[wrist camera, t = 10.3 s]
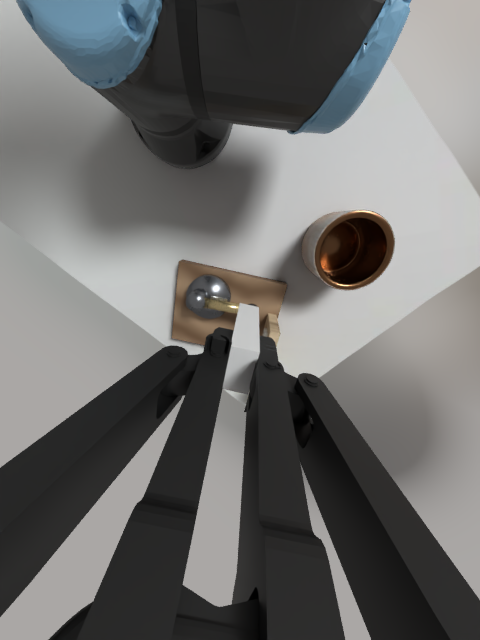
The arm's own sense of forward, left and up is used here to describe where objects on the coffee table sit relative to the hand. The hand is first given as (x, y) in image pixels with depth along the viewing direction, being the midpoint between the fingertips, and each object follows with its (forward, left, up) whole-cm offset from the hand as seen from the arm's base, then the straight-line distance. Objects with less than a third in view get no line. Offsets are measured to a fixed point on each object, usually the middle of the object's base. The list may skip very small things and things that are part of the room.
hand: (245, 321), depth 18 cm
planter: (-6, +13, -27) cm, 30 cm away
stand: (+10, -3, -26) cm, 28 cm away
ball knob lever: (+7, -4, -24) cm, 26 cm away
